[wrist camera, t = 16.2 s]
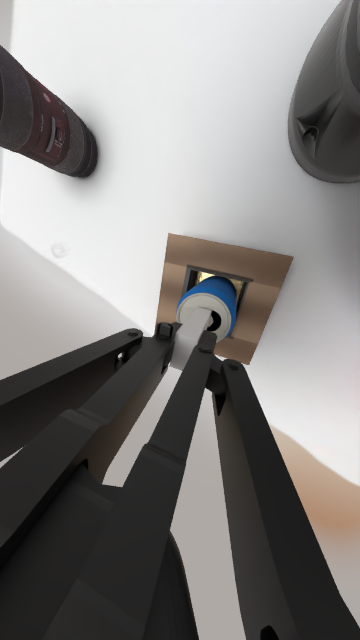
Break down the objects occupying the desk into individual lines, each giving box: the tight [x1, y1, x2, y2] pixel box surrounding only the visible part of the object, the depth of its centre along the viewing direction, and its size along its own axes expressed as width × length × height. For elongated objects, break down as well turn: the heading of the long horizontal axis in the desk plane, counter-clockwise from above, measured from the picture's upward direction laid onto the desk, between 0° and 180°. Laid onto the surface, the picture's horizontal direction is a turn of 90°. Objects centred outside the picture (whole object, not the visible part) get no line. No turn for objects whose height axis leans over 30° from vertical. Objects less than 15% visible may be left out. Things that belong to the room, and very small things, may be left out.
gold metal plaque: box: [195, 271, 244, 305], centre depth 29 cm, size 7×7×1 cm
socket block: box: [154, 233, 293, 365], centre depth 27 cm, size 15×15×6 cm
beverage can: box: [176, 276, 237, 343], centre depth 24 cm, size 6×6×12 cm
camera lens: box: [0, 45, 97, 177], centre depth 22 cm, size 8×8×15 cm
